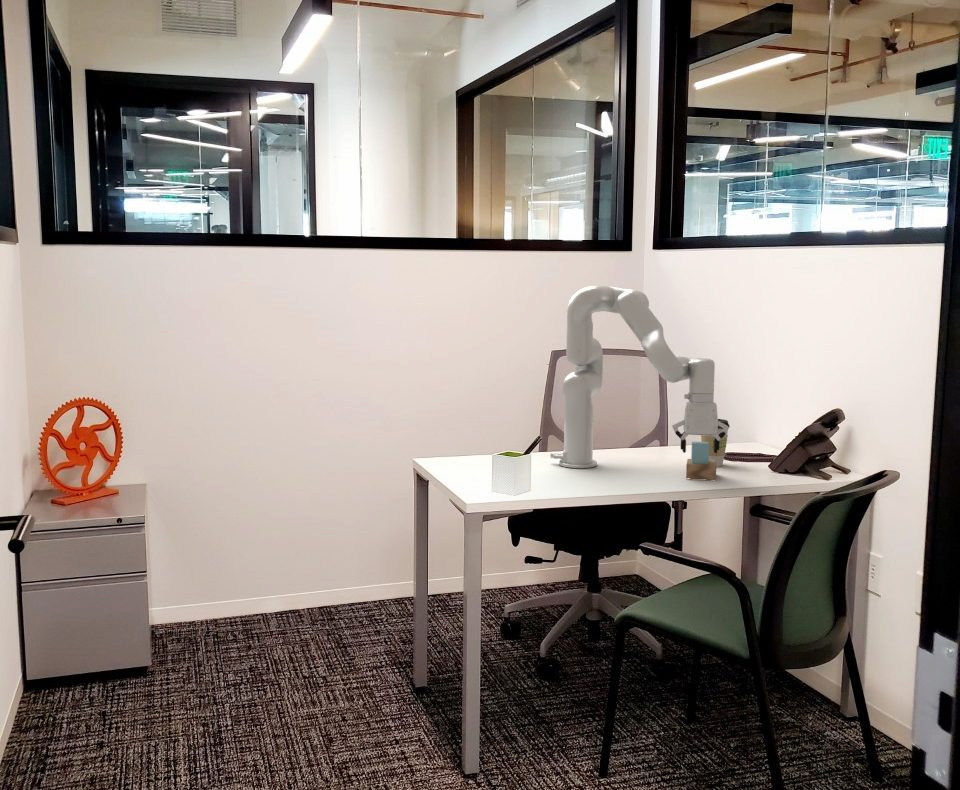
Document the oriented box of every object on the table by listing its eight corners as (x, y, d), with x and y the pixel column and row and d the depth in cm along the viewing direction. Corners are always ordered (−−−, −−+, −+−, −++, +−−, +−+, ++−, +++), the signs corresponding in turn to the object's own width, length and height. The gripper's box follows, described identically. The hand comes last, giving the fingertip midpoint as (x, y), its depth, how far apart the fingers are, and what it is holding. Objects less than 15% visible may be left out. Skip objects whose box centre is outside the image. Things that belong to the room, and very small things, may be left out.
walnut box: (686, 480, 288) (686, 464, 288) (687, 474, 297) (687, 458, 296) (715, 481, 286) (716, 465, 285) (716, 475, 295) (716, 460, 294)
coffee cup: (729, 468, 304) (730, 423, 302) (698, 467, 306) (699, 422, 304) (727, 462, 314) (729, 418, 312) (697, 461, 316) (699, 417, 314)
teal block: (692, 463, 289) (692, 444, 288) (691, 460, 294) (691, 441, 293) (708, 463, 288) (709, 444, 287) (707, 460, 293) (708, 442, 292)
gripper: (674, 399, 286) (672, 453, 288) (731, 400, 284) (729, 455, 286) (671, 396, 293) (670, 449, 295) (727, 397, 291) (725, 450, 294)
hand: (699, 452), depth 291 cm, fingers open, 9 cm apart
